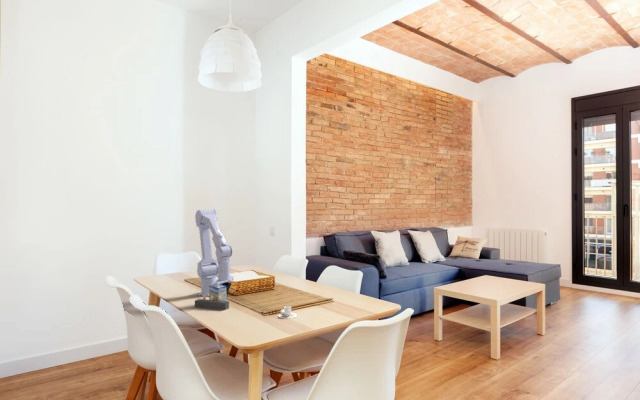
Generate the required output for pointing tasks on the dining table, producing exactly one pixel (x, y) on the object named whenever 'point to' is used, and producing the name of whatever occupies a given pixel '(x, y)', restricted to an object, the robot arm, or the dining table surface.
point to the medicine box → (218, 292)
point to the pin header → (212, 303)
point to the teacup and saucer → (287, 312)
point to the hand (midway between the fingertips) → (224, 298)
